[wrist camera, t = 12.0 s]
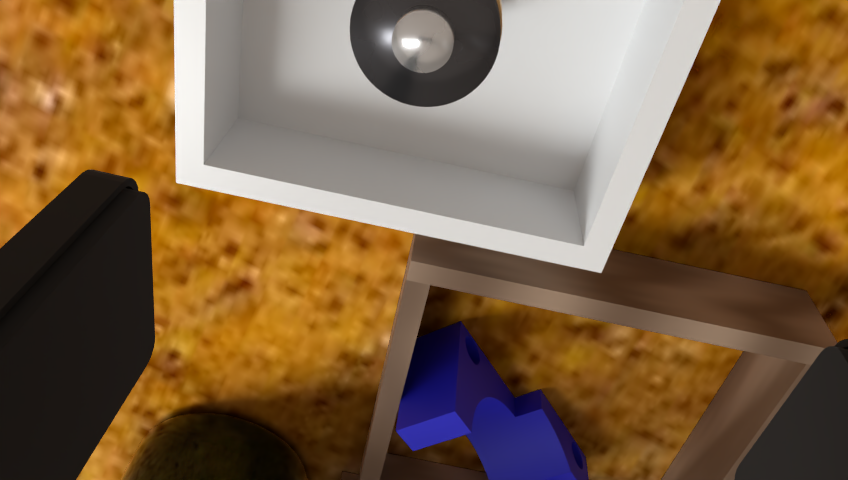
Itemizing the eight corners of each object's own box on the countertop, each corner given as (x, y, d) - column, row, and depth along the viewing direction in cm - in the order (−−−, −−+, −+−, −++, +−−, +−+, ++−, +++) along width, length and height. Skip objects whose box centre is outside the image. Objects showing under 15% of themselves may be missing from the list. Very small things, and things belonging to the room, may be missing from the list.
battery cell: (509, -83, 23) (514, -33, 17) (492, 39, 25) (491, 125, 19) (387, -96, 23) (344, -50, 17) (381, 27, 25) (342, 108, 19)
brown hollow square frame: (806, 290, 31) (842, 351, 28) (655, 517, 42) (668, 581, 38) (419, 207, 31) (410, 260, 27) (362, 459, 41) (350, 519, 38)
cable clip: (585, 454, 39) (598, 553, 34) (513, 475, 41) (516, 572, 36) (487, 308, 34) (486, 400, 29) (409, 338, 36) (395, 430, 31)
